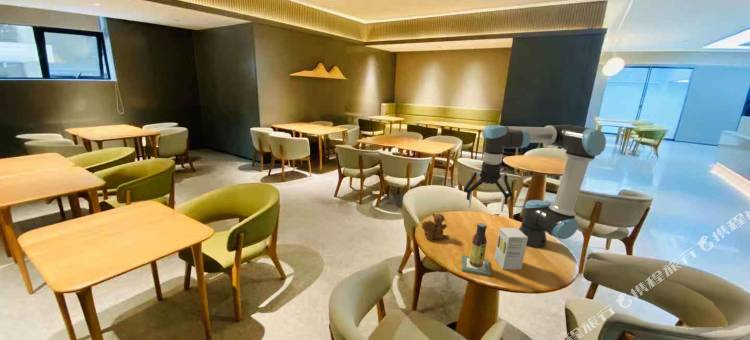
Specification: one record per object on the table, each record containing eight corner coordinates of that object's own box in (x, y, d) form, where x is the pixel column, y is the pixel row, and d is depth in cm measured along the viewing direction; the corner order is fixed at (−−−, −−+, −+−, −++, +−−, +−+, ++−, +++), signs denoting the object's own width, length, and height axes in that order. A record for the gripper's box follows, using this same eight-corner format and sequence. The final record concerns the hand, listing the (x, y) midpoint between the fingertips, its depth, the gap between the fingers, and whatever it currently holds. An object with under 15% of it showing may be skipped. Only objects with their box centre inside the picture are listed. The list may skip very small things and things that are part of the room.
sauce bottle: (481, 269, 138) (487, 229, 133) (467, 264, 142) (472, 225, 136) (484, 262, 144) (490, 224, 138) (471, 258, 147) (476, 220, 141)
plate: (487, 261, 147) (488, 259, 147) (490, 276, 136) (490, 273, 136) (461, 257, 150) (462, 254, 150) (462, 271, 139) (462, 268, 138)
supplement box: (493, 258, 150) (498, 227, 146) (511, 258, 151) (517, 227, 146) (502, 270, 141) (508, 237, 137) (522, 269, 142) (528, 237, 137)
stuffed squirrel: (449, 239, 167) (452, 216, 164) (428, 243, 161) (430, 220, 158) (438, 231, 176) (441, 209, 172) (418, 235, 170) (420, 213, 166)
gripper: (521, 163, 131) (513, 209, 137) (461, 157, 137) (456, 202, 142) (525, 167, 124) (516, 215, 130) (461, 161, 130) (456, 208, 135)
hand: (485, 208), depth 136 cm, fingers open, 13 cm apart
